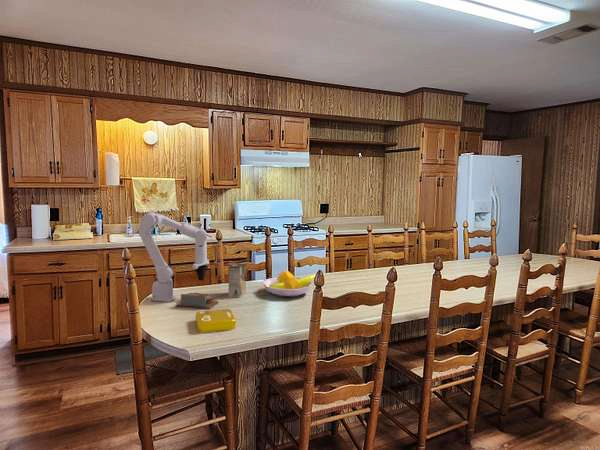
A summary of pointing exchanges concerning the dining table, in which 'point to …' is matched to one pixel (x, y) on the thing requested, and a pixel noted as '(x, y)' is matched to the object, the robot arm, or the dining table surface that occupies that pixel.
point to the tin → (208, 297)
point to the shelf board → (208, 306)
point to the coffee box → (237, 280)
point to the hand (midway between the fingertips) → (201, 280)
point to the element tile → (215, 320)
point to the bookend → (193, 300)
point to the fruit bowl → (288, 284)
